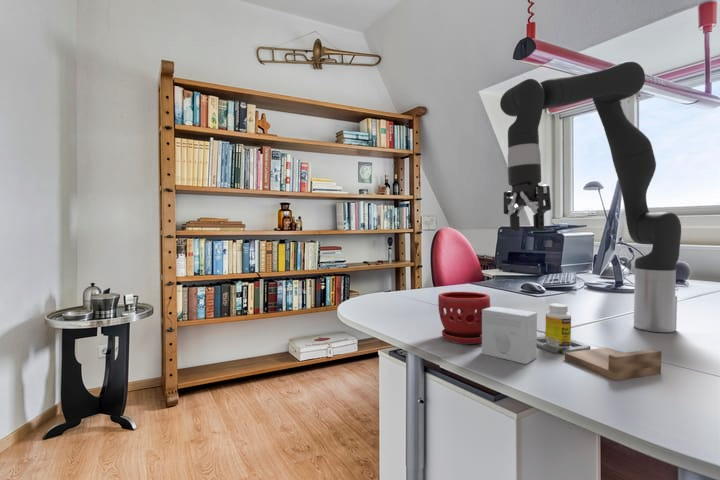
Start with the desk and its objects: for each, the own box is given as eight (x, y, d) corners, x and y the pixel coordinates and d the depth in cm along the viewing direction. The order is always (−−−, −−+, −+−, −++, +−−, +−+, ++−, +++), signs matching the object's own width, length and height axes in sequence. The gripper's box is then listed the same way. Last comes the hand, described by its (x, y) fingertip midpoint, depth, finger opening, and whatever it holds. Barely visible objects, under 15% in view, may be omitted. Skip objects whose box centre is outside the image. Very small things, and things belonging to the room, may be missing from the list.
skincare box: (537, 357, 85) (538, 311, 84) (526, 365, 80) (526, 316, 80) (493, 347, 92) (493, 304, 92) (480, 353, 87) (480, 309, 87)
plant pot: (498, 338, 99) (498, 293, 98) (475, 350, 89) (475, 301, 89) (453, 329, 108) (453, 288, 107) (428, 339, 98) (428, 294, 98)
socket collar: (558, 337, 99) (558, 334, 99) (593, 350, 89) (593, 347, 89) (525, 341, 96) (525, 338, 96) (557, 355, 86) (557, 351, 86)
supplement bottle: (563, 351, 89) (563, 308, 88) (540, 345, 93) (541, 304, 93) (575, 346, 92) (575, 305, 91) (553, 341, 96) (553, 301, 96)
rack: (606, 353, 87) (606, 334, 86) (660, 373, 75) (661, 351, 75) (564, 359, 83) (564, 339, 83) (615, 380, 72) (615, 357, 71)
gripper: (558, 159, 87) (560, 229, 87) (518, 170, 101) (520, 230, 101) (531, 159, 85) (533, 230, 85) (493, 170, 99) (495, 231, 99)
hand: (526, 230), depth 93 cm, fingers open, 8 cm apart
